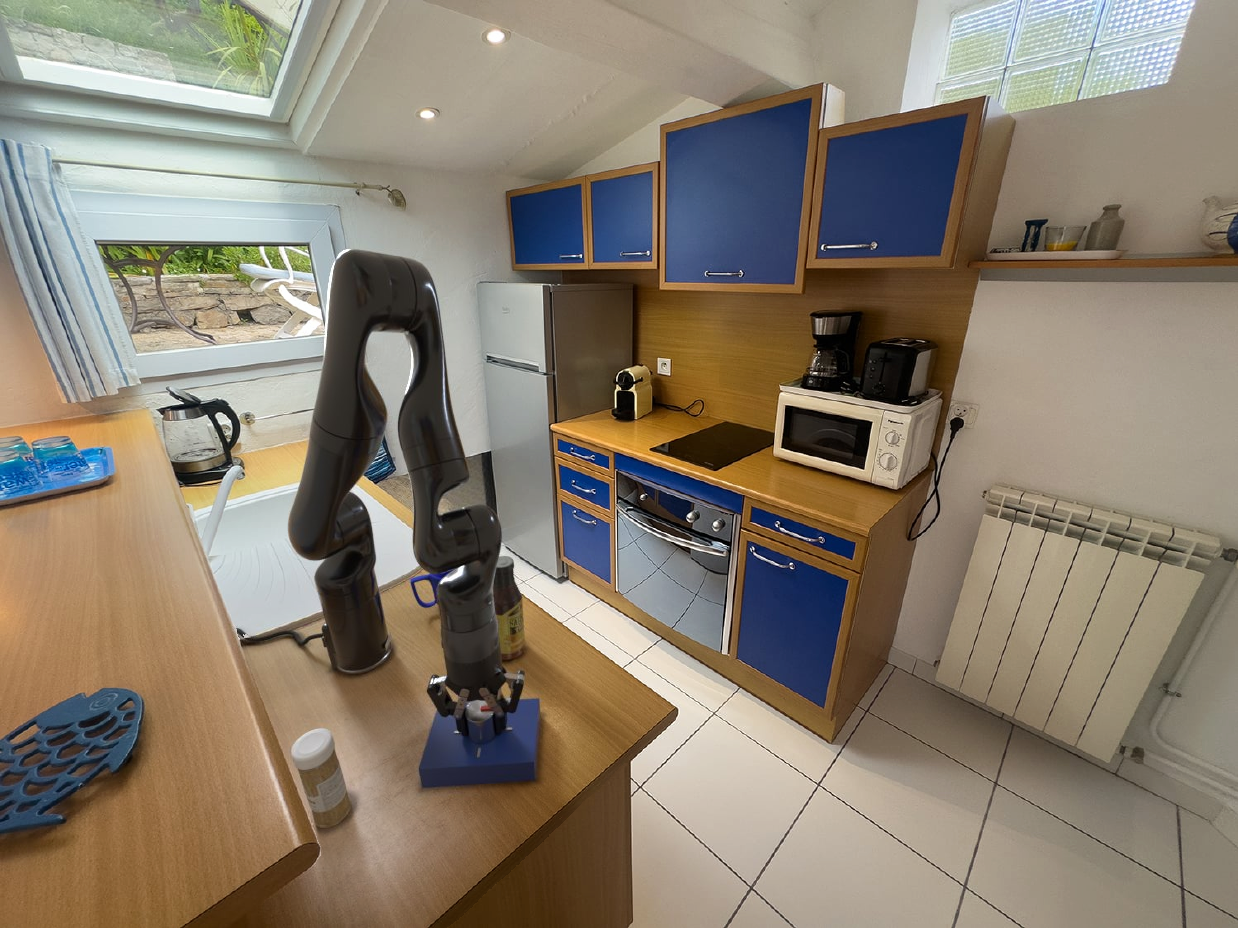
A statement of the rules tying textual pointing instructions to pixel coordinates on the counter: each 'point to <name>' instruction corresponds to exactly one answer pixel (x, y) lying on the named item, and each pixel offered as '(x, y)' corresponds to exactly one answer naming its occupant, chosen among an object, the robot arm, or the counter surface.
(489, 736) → the silver pointer knob
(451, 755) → the blue knob base block
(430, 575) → the mug
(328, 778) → the sprinkles bottle
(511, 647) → the sauce bottle
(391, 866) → the counter surface
